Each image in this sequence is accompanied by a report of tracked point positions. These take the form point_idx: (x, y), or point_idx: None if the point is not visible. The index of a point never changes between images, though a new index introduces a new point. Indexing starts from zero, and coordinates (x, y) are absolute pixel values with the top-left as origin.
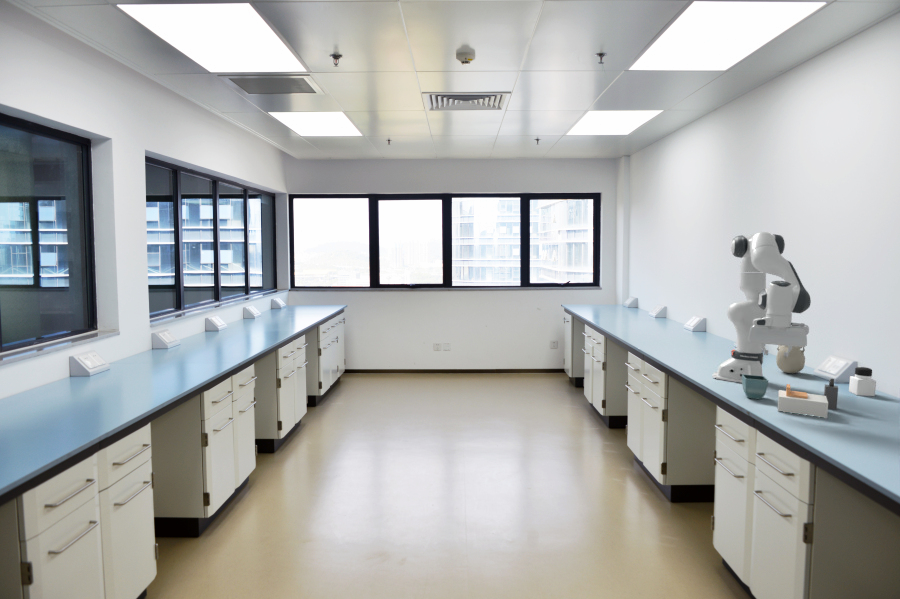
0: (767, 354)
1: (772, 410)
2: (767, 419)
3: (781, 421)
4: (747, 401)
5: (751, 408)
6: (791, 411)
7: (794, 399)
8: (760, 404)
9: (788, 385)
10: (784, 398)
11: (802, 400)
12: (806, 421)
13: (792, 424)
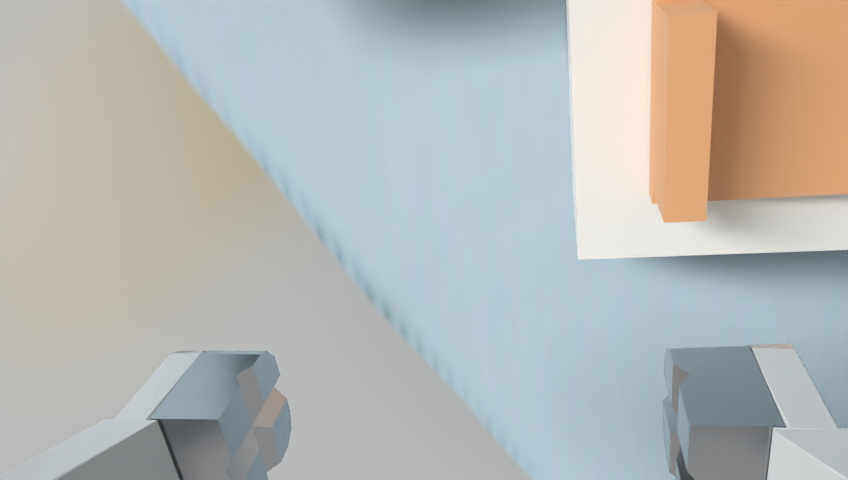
0: (276, 442)
1: (532, 189)
2: (521, 437)
3: (605, 436)
4: (301, 3)
5: (383, 229)
6: None
7: (725, 250)
8: (418, 41)
9: (688, 103)
10: (630, 250)
11: (804, 246)
12: None
13: None
